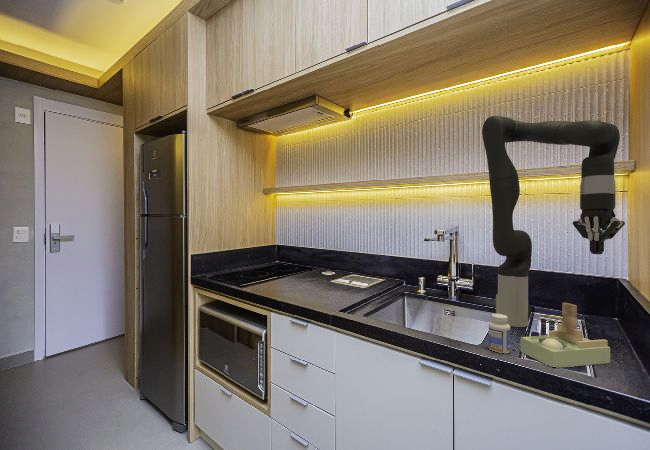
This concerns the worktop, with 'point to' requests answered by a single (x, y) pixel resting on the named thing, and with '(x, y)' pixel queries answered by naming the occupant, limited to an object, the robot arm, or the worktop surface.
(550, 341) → the ball
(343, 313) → the worktop surface
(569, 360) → the green tray
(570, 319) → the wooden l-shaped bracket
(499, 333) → the pill bottle
